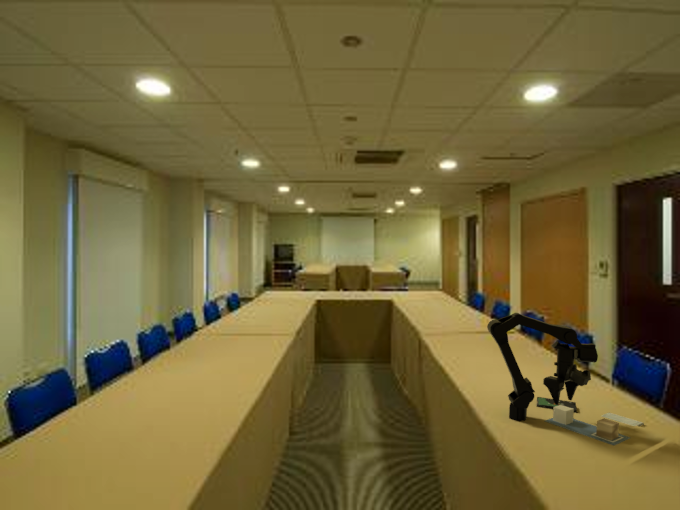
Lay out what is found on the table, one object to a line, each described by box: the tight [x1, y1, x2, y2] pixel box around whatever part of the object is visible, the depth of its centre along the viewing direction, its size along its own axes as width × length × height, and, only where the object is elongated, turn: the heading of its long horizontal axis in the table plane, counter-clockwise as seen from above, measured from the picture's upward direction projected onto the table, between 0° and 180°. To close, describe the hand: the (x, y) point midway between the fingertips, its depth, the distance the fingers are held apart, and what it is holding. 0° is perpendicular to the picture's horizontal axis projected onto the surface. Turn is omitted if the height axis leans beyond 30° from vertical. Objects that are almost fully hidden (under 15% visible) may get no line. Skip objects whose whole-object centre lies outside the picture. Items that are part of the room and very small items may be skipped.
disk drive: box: [536, 396, 578, 414], centre depth 195 cm, size 10×3×15 cm
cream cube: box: [552, 405, 575, 425], centre depth 178 cm, size 5×5×5 cm
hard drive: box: [601, 412, 645, 427], centre depth 182 cm, size 2×8×12 cm
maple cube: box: [596, 417, 620, 440], centre depth 165 cm, size 5×5×5 cm
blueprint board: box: [544, 417, 632, 447], centre depth 171 cm, size 12×25×1 cm, turn 35°
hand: (563, 402), depth 178 cm, fingers open, 9 cm apart
